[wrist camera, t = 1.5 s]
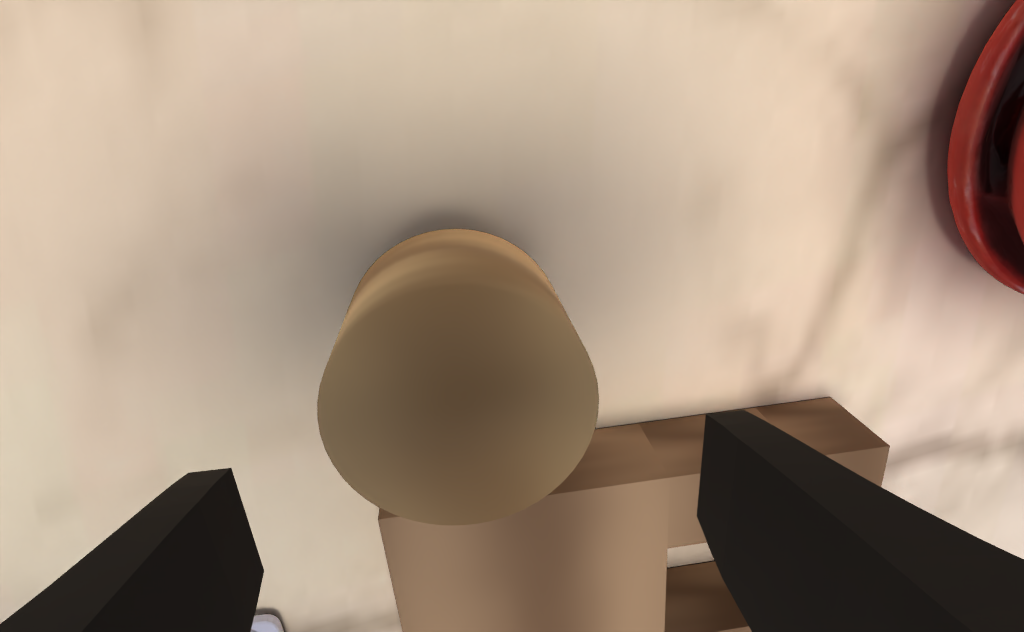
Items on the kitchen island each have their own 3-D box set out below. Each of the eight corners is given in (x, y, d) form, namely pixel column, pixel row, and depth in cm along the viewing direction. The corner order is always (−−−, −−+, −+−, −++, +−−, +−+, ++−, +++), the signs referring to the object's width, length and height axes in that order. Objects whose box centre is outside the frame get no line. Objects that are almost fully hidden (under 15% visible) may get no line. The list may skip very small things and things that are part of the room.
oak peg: (381, 368, 18) (347, 542, 12) (350, 207, 16) (287, 302, 10) (542, 348, 19) (601, 505, 12) (531, 188, 17) (595, 267, 10)
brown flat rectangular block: (426, 657, 24) (425, 734, 21) (386, 457, 20) (377, 519, 17) (798, 596, 25) (843, 661, 22) (830, 397, 21) (889, 445, 18)
